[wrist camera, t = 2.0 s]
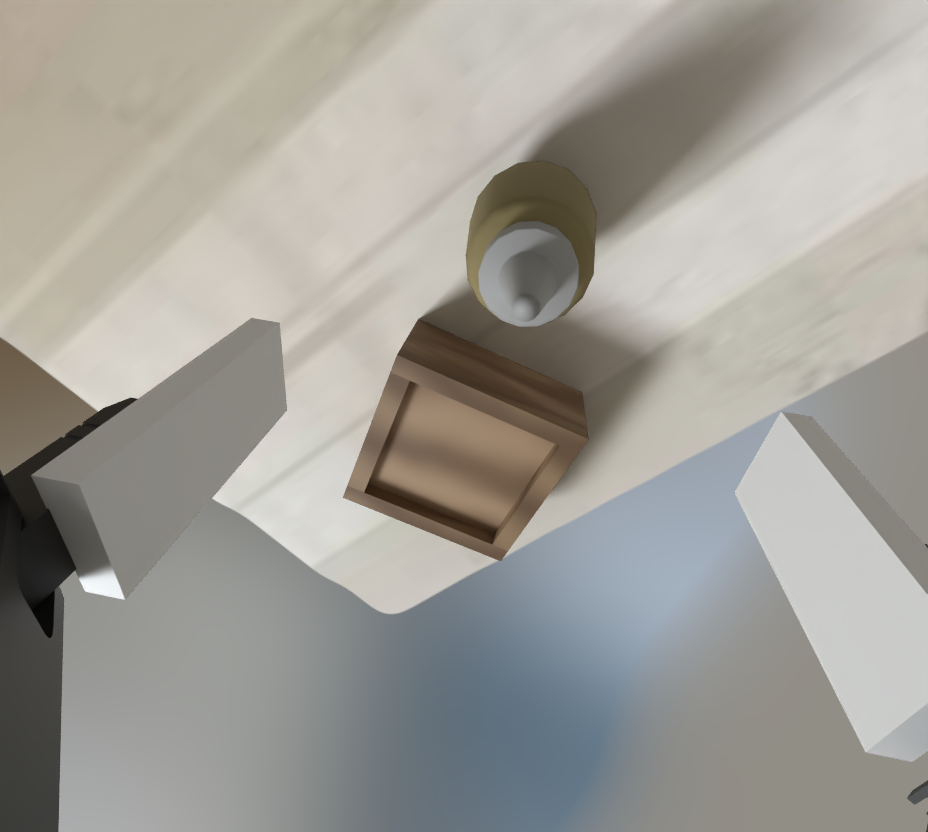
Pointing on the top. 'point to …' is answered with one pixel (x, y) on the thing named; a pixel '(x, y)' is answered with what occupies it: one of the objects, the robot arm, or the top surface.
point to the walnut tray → (466, 442)
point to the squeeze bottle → (531, 243)
